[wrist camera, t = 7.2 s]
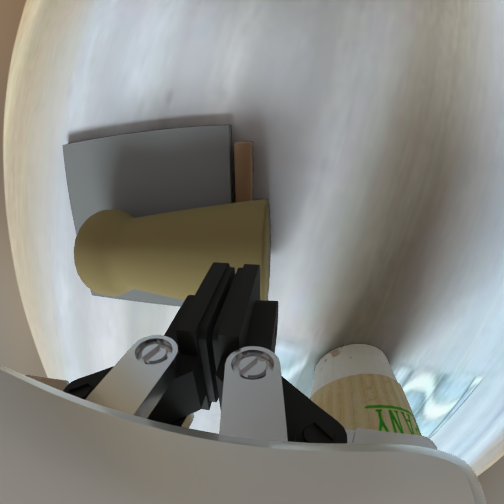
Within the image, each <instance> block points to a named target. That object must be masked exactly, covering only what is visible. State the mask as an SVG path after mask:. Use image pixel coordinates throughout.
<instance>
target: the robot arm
mask: <svg viewBox="0 0 504 504" xmlns="http://www.w3.org/2000/svg"><path fill="white" fill-rule="evenodd" d="M277 324H278V301H265V300H260V265H256V264H244V266H243V268H238V269H237V272H236V274H235V268H234V267H230V265H229V263H219V262H213V264H212V265H211V267H210V269H209V271H208V272H207V274H206V276H205V278H204V279H203V281H202V283H201V285H200V287H199V288H198V290H197V292H196V294H195V295H188V296H187V297H186V299H185V301H184V302H183V304H182V306H181V308H180V309H179V311H178V313H177V314H176V316H175V318H174V319H173V321H172V323H171V325H170V326H169V328H168V330H167V331H166V333H165V335H164V336H162V335H151V336H148V337H144V338H142V339H140V340H138V341H137V342H136V343H135V344H134V345H133V346H132V347H131V348H130V349H129V350H128V351H127V353H126V354H125V355H124V356H123V357H122V358H121V359H120V360H119V361H118V363H117V364H116V365H115V366H113V367H111V368H108V369H105V370H102V371H99V372H97V373H94V374H91V375H88V376H85V377H82V378H79V379H77V380H75V381H72V382H71V383H70V384H69V382H68V381H66V380H58V379H51V378H44V377H37V376H31V375H23V374H20V373H18V372H15V371H13V370H10V369H8V368H5V367H2V366H0V504H487V503H486V500H485V496H484V493H483V491H482V488H481V485H480V483H479V480H478V478H477V476H476V474H475V473H474V471H473V470H472V468H471V467H470V466H469V465H468V464H467V463H466V462H465V461H464V460H462V459H460V458H459V457H457V456H454V455H452V454H449V453H446V452H443V451H439V450H437V447H436V446H435V444H434V443H433V441H431V440H430V439H429V438H427V437H424V436H420V435H413V434H403V433H394V432H386V431H378V430H371V429H365V428H358V427H357V428H356V431H355V430H349V429H344V427H343V426H342V425H341V424H340V423H339V422H338V421H337V420H336V419H334V418H333V417H332V416H330V415H329V414H328V413H327V412H325V411H324V410H323V409H321V408H320V407H319V406H318V405H316V404H315V403H314V402H313V401H311V400H310V399H309V398H308V397H306V396H305V395H304V394H303V393H302V392H300V391H299V390H298V389H297V388H295V387H294V386H293V385H292V384H291V383H289V382H288V381H287V380H286V379H285V378H283V377H282V376H281V367H280V361H279V359H278V357H277V356H276V355H275V345H276V337H277ZM218 398H219V402H220V408H221V419H220V431H219V434H216V433H210V432H205V431H199V430H194V429H189V426H190V425H191V423H192V421H193V418H194V412H196V411H198V410H200V409H205V410H209V409H210V406H211V403H212V402H217V400H218Z"/></svg>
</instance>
